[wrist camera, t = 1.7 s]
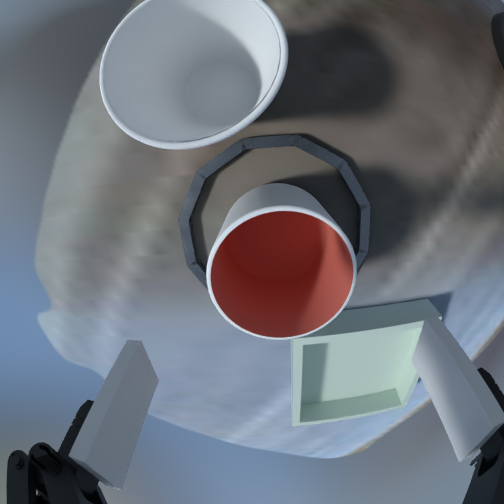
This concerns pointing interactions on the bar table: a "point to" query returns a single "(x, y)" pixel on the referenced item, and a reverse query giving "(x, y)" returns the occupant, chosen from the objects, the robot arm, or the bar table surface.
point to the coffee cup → (192, 70)
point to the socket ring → (267, 142)
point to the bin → (357, 363)
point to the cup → (280, 264)
